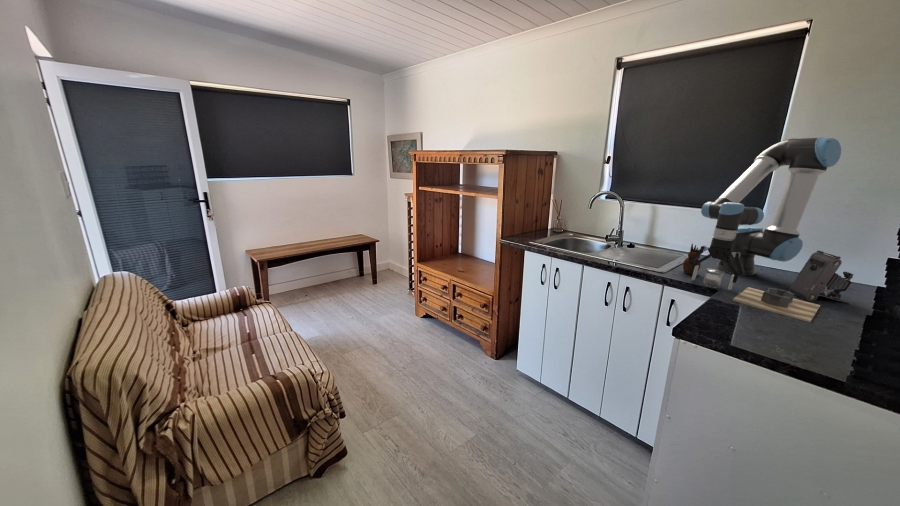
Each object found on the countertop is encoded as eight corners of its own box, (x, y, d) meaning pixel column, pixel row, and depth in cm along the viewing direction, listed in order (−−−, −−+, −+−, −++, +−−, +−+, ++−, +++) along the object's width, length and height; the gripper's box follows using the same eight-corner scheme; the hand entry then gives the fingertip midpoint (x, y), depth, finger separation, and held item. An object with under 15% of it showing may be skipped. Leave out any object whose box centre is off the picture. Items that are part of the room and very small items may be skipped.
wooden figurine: (679, 271, 167) (685, 242, 163) (686, 270, 170) (693, 241, 165) (693, 276, 162) (700, 246, 157) (700, 274, 164) (707, 245, 160)
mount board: (747, 288, 147) (748, 287, 147) (819, 307, 130) (820, 305, 130) (732, 300, 134) (733, 298, 134) (810, 322, 117) (810, 320, 117)
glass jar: (705, 281, 154) (708, 267, 152) (721, 286, 150) (725, 271, 148) (700, 284, 151) (703, 270, 149) (717, 289, 146) (721, 274, 144)
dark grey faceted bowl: (766, 295, 138) (769, 286, 137) (792, 302, 132) (795, 292, 131) (759, 301, 132) (762, 292, 131) (786, 308, 126) (790, 299, 125)
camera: (846, 313, 134) (880, 269, 127) (802, 299, 135) (833, 254, 129) (822, 302, 144) (853, 260, 138) (782, 289, 146) (810, 247, 139)
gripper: (687, 233, 151) (676, 277, 157) (758, 246, 132) (743, 295, 138) (693, 231, 155) (682, 274, 162) (763, 243, 137) (748, 291, 143)
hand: (710, 284), depth 150 cm, fingers open, 13 cm apart
